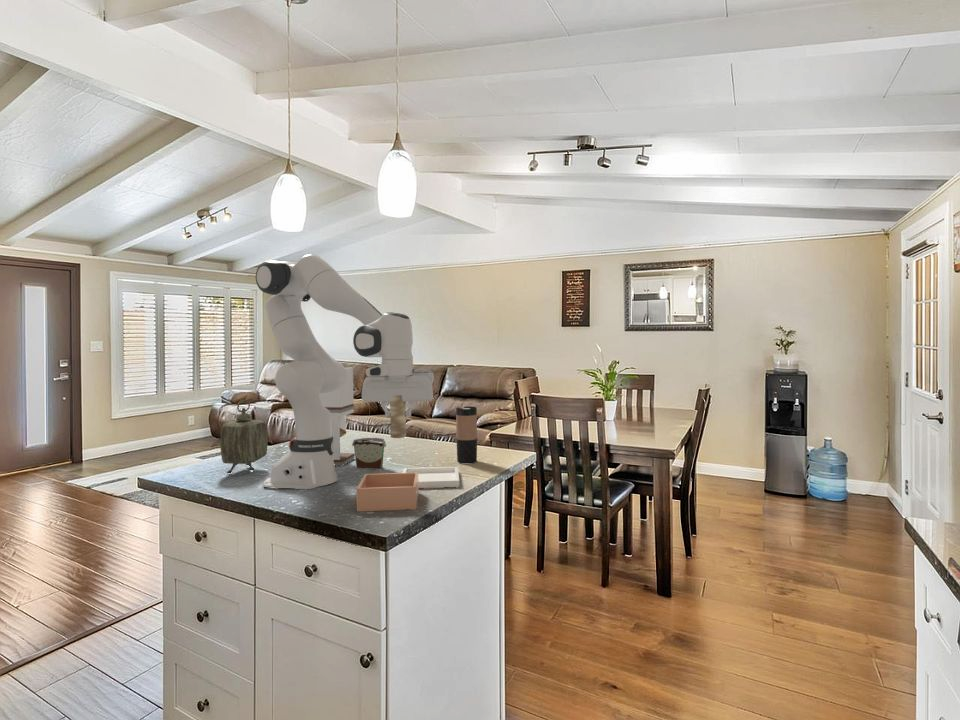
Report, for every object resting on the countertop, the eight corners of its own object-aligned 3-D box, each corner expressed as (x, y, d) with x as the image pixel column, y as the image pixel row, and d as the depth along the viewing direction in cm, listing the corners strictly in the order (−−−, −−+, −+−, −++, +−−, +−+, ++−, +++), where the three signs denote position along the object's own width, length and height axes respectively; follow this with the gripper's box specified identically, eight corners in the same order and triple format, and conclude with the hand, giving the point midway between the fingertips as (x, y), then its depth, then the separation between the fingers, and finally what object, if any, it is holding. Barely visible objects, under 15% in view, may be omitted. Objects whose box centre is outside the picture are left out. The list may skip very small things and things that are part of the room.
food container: (391, 465, 192) (391, 438, 192) (385, 469, 186) (384, 441, 186) (360, 464, 195) (359, 437, 195) (352, 468, 189) (352, 440, 189)
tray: (400, 489, 162) (399, 482, 162) (404, 474, 180) (403, 468, 180) (459, 487, 163) (459, 480, 163) (457, 472, 181) (457, 466, 181)
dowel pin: (389, 438, 152) (389, 396, 151) (391, 435, 156) (390, 394, 156) (405, 437, 152) (404, 395, 151) (406, 435, 156) (406, 394, 156)
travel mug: (475, 464, 193) (474, 409, 192) (454, 463, 194) (453, 408, 194) (479, 459, 200) (478, 406, 200) (459, 459, 202) (458, 406, 201)
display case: (342, 465, 193) (340, 368, 192) (314, 464, 195) (312, 369, 194) (354, 458, 205) (352, 367, 203) (328, 457, 206) (326, 367, 205)
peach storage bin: (356, 511, 141) (356, 488, 141) (365, 494, 157) (364, 474, 157) (416, 509, 143) (415, 487, 142) (418, 492, 158) (418, 472, 158)
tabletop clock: (246, 466, 194) (244, 397, 193) (269, 467, 192) (267, 397, 191) (221, 476, 179) (219, 402, 178) (246, 477, 178) (244, 402, 177)
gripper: (434, 368, 157) (434, 415, 158) (363, 368, 156) (364, 416, 156) (433, 369, 151) (434, 418, 151) (360, 370, 149) (361, 419, 150)
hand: (398, 417), depth 154 cm, fingers closed on dowel pin, 4 cm apart
